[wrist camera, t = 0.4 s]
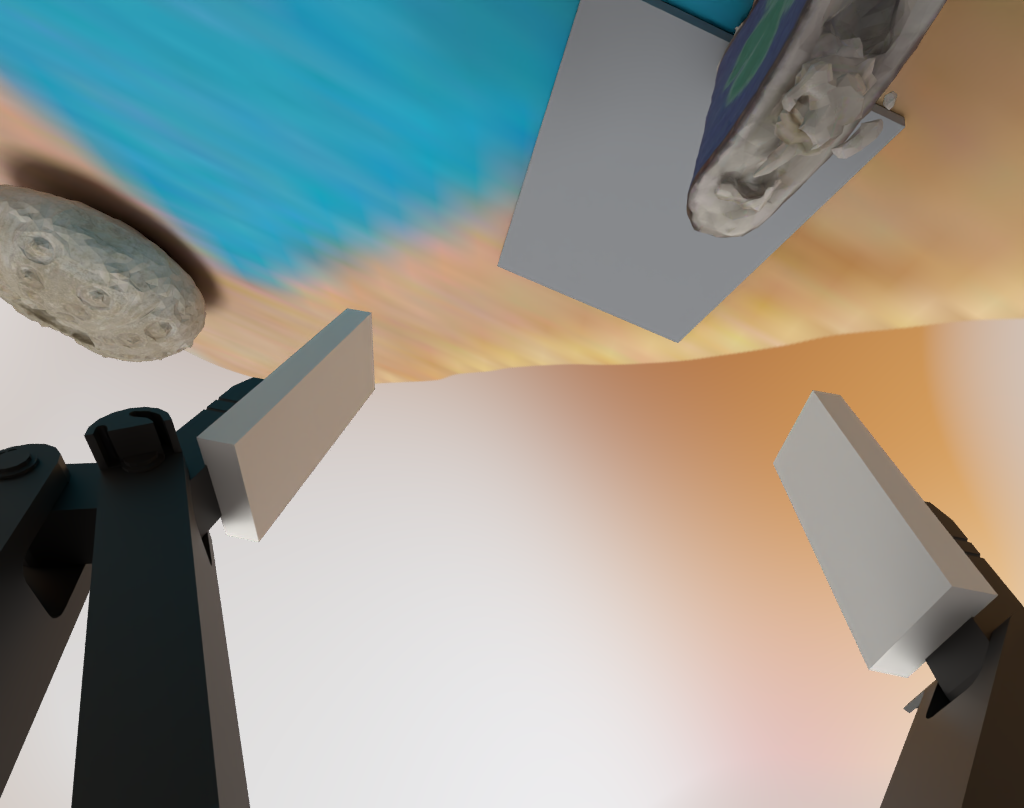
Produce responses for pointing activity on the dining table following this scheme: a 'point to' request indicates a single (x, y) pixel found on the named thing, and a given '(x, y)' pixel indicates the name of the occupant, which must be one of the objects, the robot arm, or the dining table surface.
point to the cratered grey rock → (94, 278)
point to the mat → (643, 173)
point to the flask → (796, 101)
